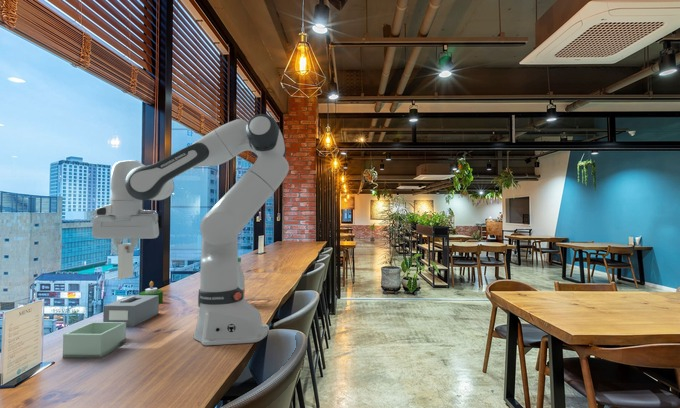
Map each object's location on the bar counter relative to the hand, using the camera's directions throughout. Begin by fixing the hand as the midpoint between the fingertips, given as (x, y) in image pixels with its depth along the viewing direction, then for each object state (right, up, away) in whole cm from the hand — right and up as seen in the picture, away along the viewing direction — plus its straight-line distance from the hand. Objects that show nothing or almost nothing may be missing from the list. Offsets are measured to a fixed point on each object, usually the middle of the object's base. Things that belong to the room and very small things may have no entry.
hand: (125, 252), depth 109 cm
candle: (-8, -26, +29) cm, 39 cm away
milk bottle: (+27, -26, +26) cm, 46 cm away
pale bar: (0, -8, 0) cm, 8 cm away
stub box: (+2, -24, -17) cm, 30 cm away
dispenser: (-1, -25, +5) cm, 26 cm away
